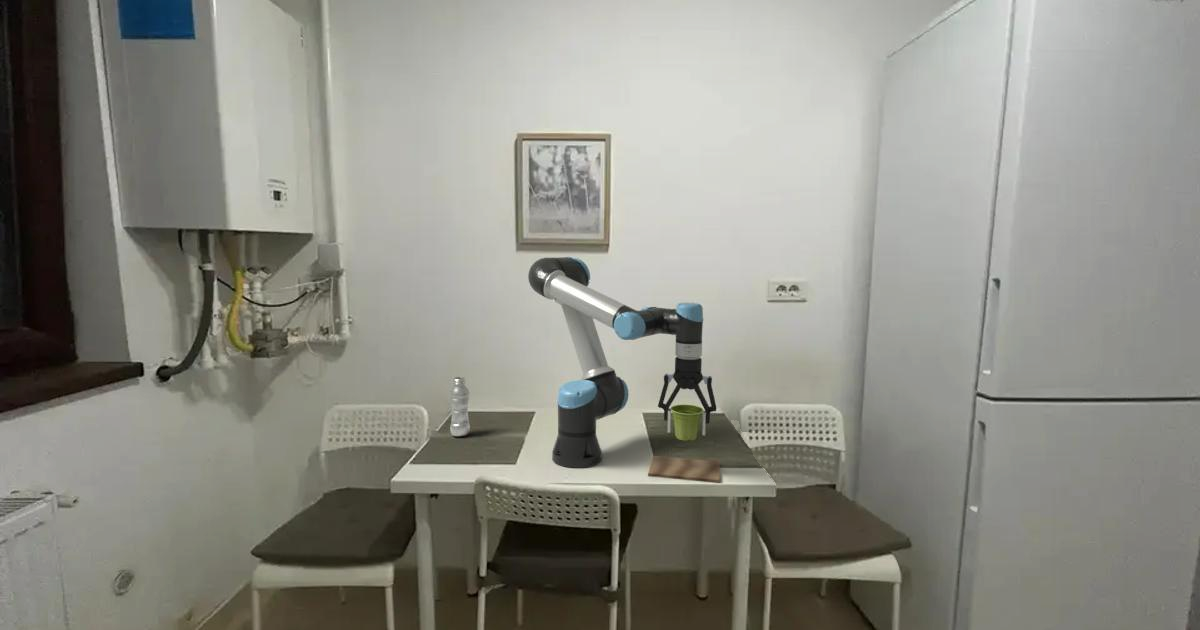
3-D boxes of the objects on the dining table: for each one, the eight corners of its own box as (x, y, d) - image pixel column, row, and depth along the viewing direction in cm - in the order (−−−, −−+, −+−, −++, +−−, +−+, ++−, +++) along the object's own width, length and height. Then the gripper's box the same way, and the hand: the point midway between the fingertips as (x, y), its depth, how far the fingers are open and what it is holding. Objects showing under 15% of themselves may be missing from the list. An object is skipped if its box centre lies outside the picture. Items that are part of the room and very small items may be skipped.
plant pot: (707, 436, 168) (708, 407, 167) (695, 445, 160) (696, 415, 159) (677, 430, 172) (678, 402, 171) (664, 439, 164) (665, 410, 163)
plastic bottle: (446, 437, 192) (445, 379, 190) (457, 431, 199) (456, 375, 196) (463, 439, 191) (462, 381, 188) (473, 433, 197) (472, 376, 195)
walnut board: (647, 475, 163) (648, 473, 162) (653, 458, 176) (653, 455, 176) (719, 482, 158) (719, 480, 158) (719, 464, 172) (719, 461, 172)
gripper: (648, 357, 162) (647, 433, 164) (727, 361, 157) (725, 439, 160) (651, 352, 169) (650, 425, 172) (727, 356, 165) (724, 431, 167)
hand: (686, 432), depth 166 cm, fingers closed on plant pot, 9 cm apart
